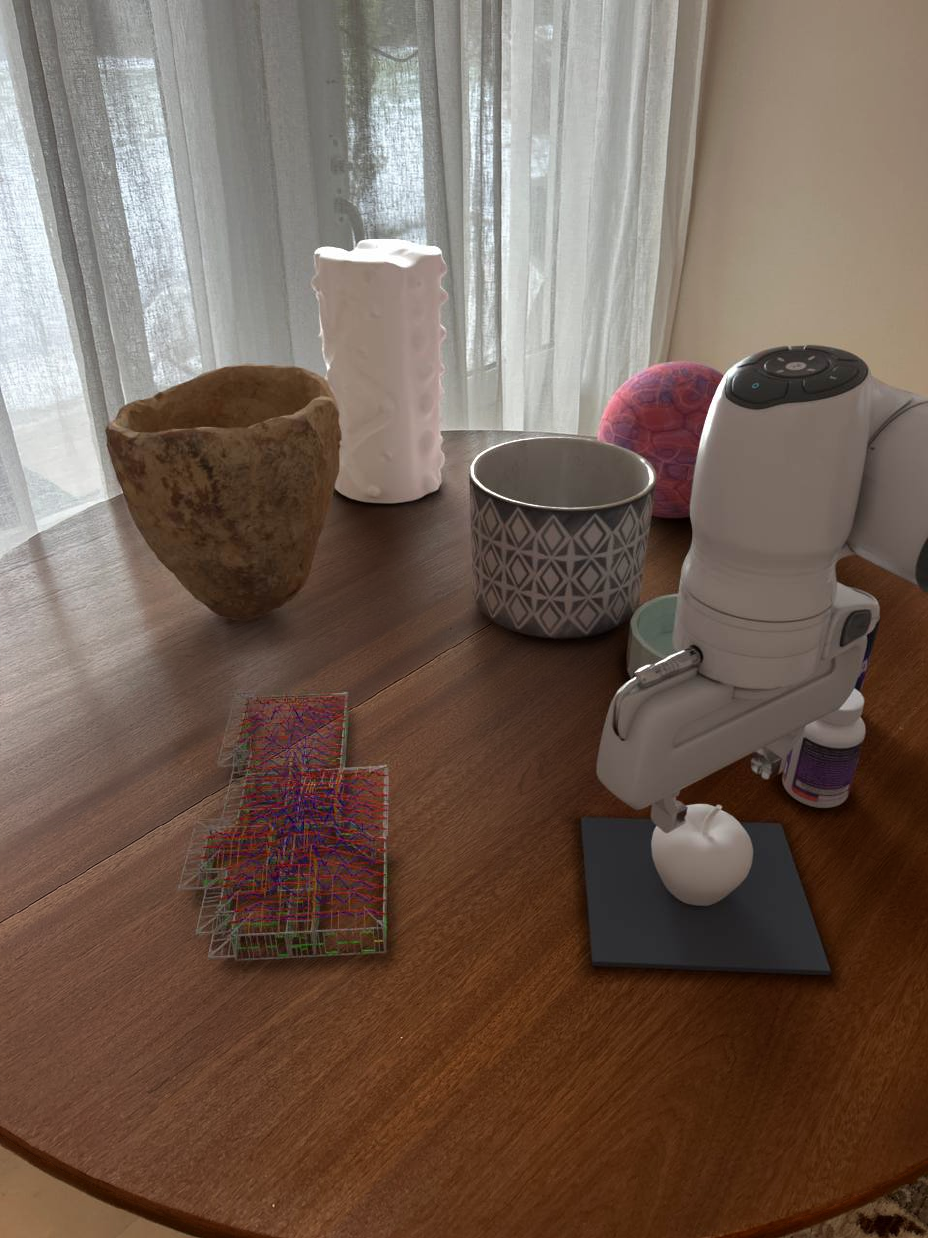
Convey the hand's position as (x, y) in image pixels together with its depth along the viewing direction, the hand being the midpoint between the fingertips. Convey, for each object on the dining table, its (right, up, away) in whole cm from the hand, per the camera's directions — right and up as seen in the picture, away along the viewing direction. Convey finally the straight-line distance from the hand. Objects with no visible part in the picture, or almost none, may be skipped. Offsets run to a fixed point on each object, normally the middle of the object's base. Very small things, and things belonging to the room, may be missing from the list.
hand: (718, 796), depth 63 cm
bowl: (-41, +13, +41) cm, 60 cm away
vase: (-28, +32, +71) cm, 83 cm away
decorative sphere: (+10, +27, +62) cm, 69 cm away
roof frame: (-31, -4, +12) cm, 34 cm away
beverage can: (+17, +3, +25) cm, 30 cm away
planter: (-7, +13, +41) cm, 44 cm away
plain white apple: (0, -8, +6) cm, 10 cm away
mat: (0, -8, +6) cm, 10 cm away
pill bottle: (+12, -2, +15) cm, 20 cm away
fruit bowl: (+6, +7, +30) cm, 31 cm away
